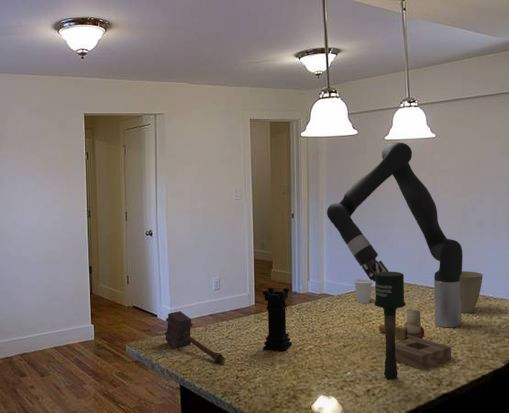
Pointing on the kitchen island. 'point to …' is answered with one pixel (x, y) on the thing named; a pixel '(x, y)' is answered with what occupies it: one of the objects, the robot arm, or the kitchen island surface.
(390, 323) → the potato masher grenade
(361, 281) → the dixie cup
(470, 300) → the plant pot
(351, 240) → the robot arm
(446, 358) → the block
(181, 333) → the hammer
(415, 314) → the peg
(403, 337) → the kendama
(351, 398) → the kitchen island surface
